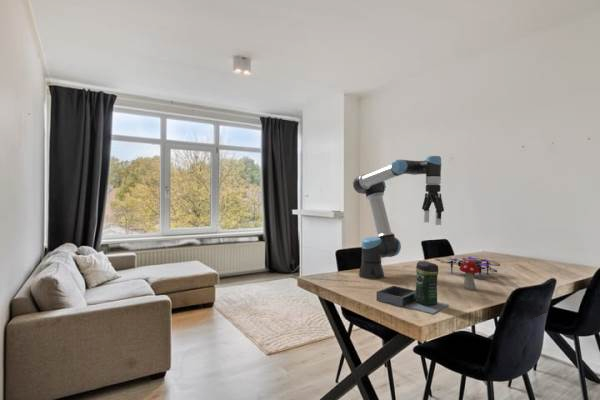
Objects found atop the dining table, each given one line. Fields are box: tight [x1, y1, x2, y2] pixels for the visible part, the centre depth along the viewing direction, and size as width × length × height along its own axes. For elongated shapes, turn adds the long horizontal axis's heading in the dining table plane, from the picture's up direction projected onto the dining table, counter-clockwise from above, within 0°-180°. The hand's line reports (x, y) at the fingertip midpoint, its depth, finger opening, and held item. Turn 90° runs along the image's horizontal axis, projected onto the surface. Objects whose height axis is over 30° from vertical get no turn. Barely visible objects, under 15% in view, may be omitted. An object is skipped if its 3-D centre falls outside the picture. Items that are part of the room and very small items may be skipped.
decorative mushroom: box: [459, 260, 479, 291], centre depth 174 cm, size 10×9×15 cm
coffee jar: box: [415, 260, 439, 306], centre depth 149 cm, size 10×8×19 cm
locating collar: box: [376, 285, 416, 308], centre depth 156 cm, size 13×15×4 cm
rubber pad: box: [405, 301, 450, 315], centre depth 146 cm, size 12×16×1 cm
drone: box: [434, 256, 501, 281], centre depth 205 cm, size 40×10×28 cm
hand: (432, 223), depth 179 cm, fingers open, 13 cm apart
